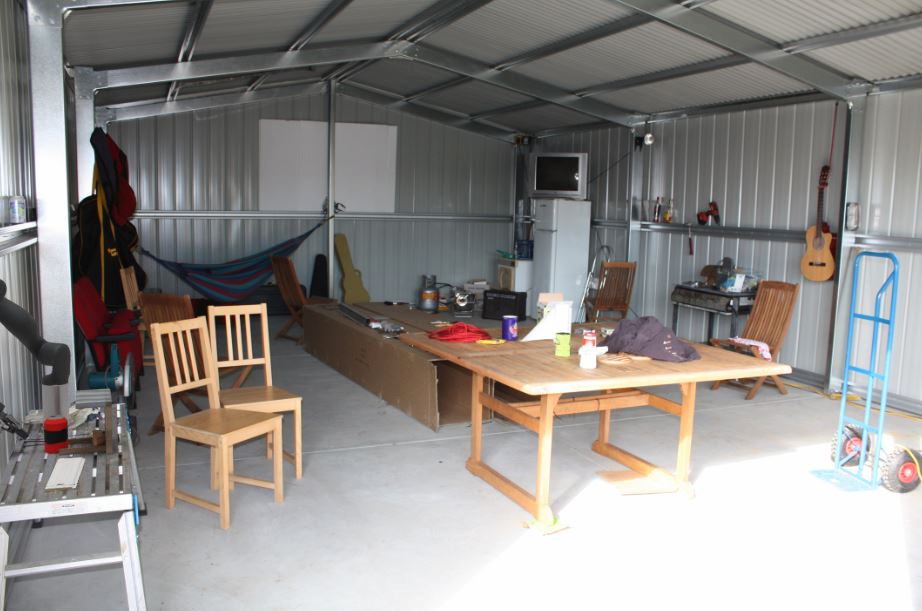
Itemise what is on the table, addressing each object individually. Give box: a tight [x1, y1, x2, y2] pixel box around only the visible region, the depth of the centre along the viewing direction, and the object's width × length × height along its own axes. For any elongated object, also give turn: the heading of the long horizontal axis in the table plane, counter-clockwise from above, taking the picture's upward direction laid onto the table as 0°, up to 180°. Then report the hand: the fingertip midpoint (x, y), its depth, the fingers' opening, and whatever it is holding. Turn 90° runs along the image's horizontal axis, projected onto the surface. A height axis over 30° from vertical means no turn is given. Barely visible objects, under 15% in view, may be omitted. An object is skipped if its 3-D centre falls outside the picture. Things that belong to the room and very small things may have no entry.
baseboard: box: [44, 456, 86, 492], centre depth 255 cm, size 30×3×10 cm
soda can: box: [43, 415, 69, 454], centre depth 278 cm, size 8×8×12 cm
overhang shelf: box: [58, 388, 113, 456], centre depth 281 cm, size 20×17×19 cm
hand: (27, 437), depth 274 cm, fingers closed
